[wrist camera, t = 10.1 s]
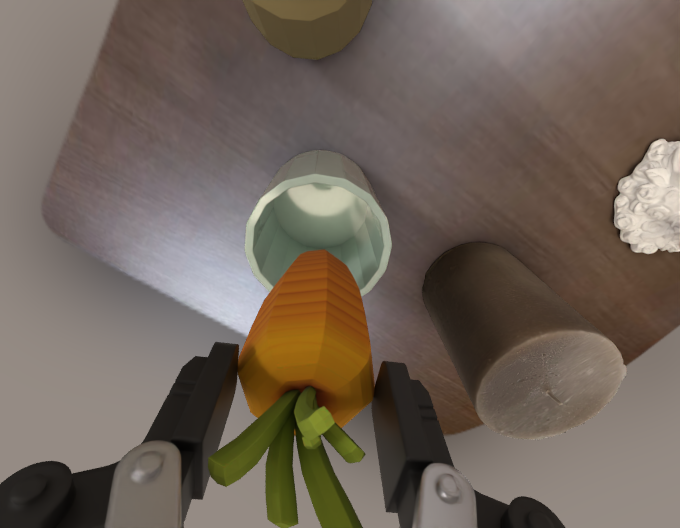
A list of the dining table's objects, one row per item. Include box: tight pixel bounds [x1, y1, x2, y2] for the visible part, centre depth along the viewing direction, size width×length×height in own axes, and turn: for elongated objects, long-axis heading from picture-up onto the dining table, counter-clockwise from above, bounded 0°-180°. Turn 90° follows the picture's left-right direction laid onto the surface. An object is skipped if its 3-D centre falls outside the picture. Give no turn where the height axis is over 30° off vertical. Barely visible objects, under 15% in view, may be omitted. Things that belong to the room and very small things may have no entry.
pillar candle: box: [422, 242, 627, 440], centre depth 28 cm, size 10×10×15 cm
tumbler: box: [245, 150, 392, 297], centre depth 26 cm, size 9×9×10 cm
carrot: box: [208, 249, 375, 528], centre depth 14 cm, size 5×5×15 cm
